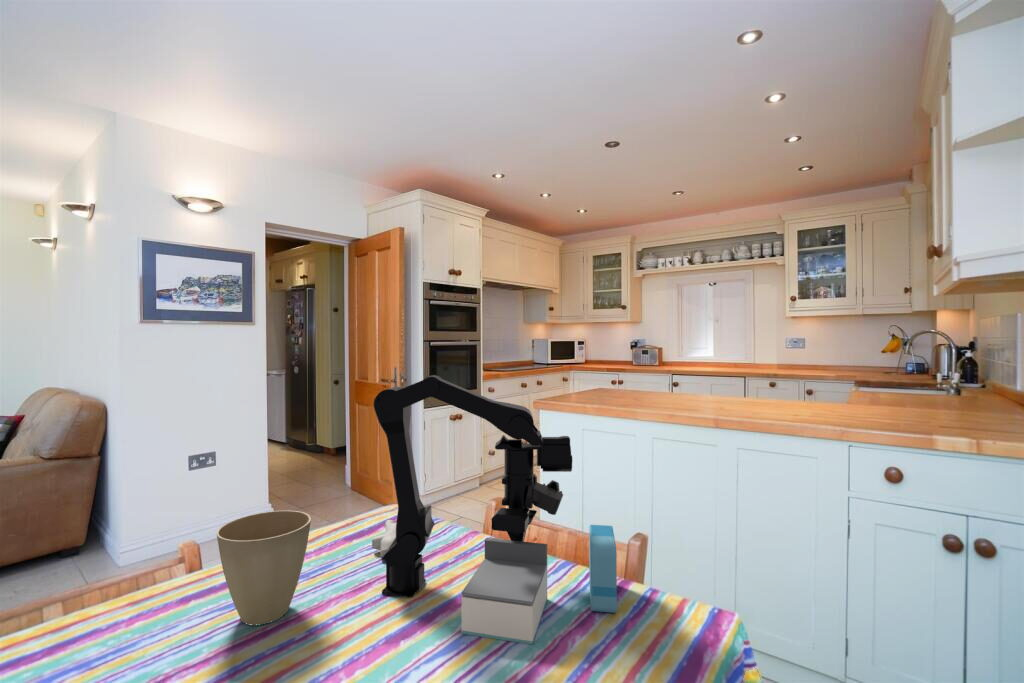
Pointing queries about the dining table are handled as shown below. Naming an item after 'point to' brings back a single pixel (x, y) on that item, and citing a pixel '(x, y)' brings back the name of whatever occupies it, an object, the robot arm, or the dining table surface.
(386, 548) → the bunny figurine
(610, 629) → the dining table surface
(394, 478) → the robot arm
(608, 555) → the data package
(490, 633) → the box
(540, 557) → the lid
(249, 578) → the plant pot
